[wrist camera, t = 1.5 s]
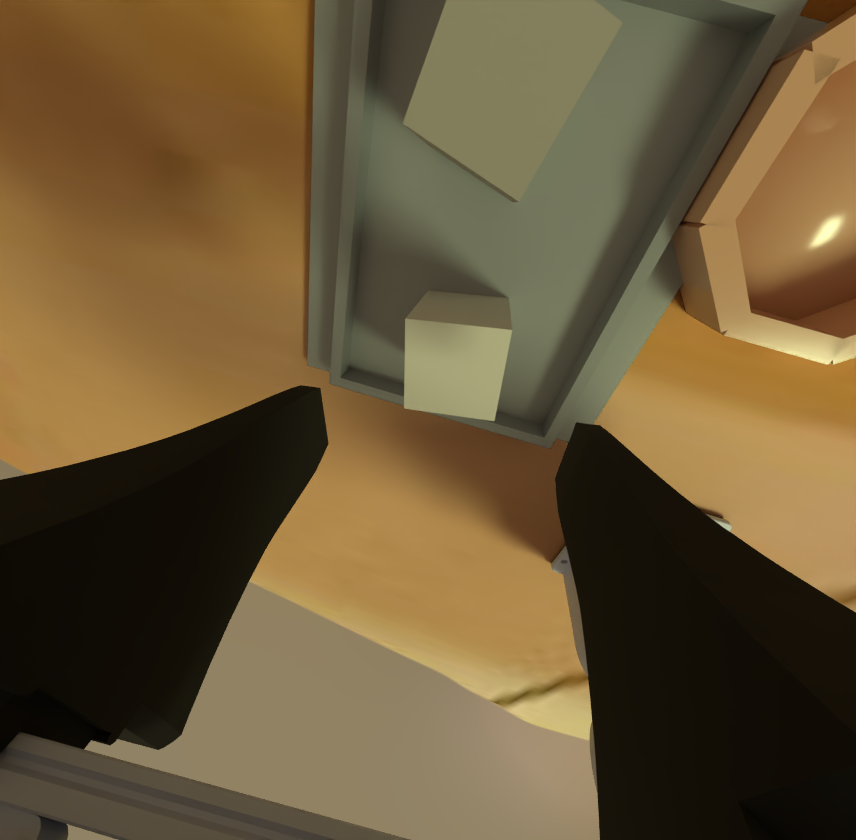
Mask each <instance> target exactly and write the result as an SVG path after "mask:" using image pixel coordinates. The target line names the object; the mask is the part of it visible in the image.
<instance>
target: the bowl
mask: <svg viewBox="0 0 856 840" xmlns="http://www.w3.org/2000/svg"><path fill="white" fill-rule="evenodd" d="M829 23H830V24H828V25H826V26H825V27H823V28H822V29H820V30H819V31H817V32H816V33H814V34H812V35H811V36H809V37H808V38H806V39H805V40H803V41H801V42H800V43H798V44H797V45H795V46H794V47H792V48H791V49H789V50H787V51H786V52H784V53H783V54H781V55H780V56H778V57H777V58H775V59H774V60H773V62H772V64H771V66H770V67H769V69H768V71H767V73H766V74H765V76H764V78H763V80H762V81H761V83H760V85H759V86H758V88H757V90H756V92H755V93H754V95H753V97H752V99H751V100H750V102H749V104H748V106H747V107H746V109H745V111H744V113H743V114H742V116H741V118H740V120H739V121H738V123H737V125H736V126H735V128H734V130H733V132H732V133H731V135H730V137H729V139H728V140H727V142H726V144H725V146H724V147H723V149H722V151H721V153H720V154H719V156H718V158H717V160H716V161H715V163H714V165H713V167H712V168H711V170H710V172H709V173H708V175H707V177H706V179H705V180H704V182H703V184H702V186H701V187H700V189H699V191H698V193H697V194H696V196H695V198H694V200H693V201H692V203H691V205H690V207H689V208H688V210H687V212H686V213H685V215H684V217H683V219H682V220H681V222H680V224H679V226H678V227H677V229H676V231H675V233H674V234H673V236H672V240H673V244H674V249H675V253H676V257H677V261H678V265H679V269H680V273H681V277H682V281H683V284H682V285H681V287H680V291H681V295H682V299H683V303H684V307H685V311H686V313H688V315H690V316H692V317H693V318H695V319H697V320H698V321H700V322H702V323H704V324H705V325H707V326H709V327H710V328H712V329H714V330H716V331H717V332H719V333H721V334H722V335H725V336H728V337H732V338H735V339H739V340H742V341H746V342H749V343H753V344H756V345H760V346H763V347H767V348H770V349H774V350H778V351H781V352H785V353H788V354H792V355H795V356H799V357H802V358H806V359H809V360H813V361H816V362H820V363H823V364H827V365H828V364H829V363H831V364H836V363H839V362H842V361H845V360H848V359H852V358H855V357H856V6H854V7H853V8H851V9H850V10H848V11H846V12H845V13H843V14H842V15H840V16H839V17H837V18H835V19H834V20H832V21H831V22H829Z"/></svg>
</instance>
